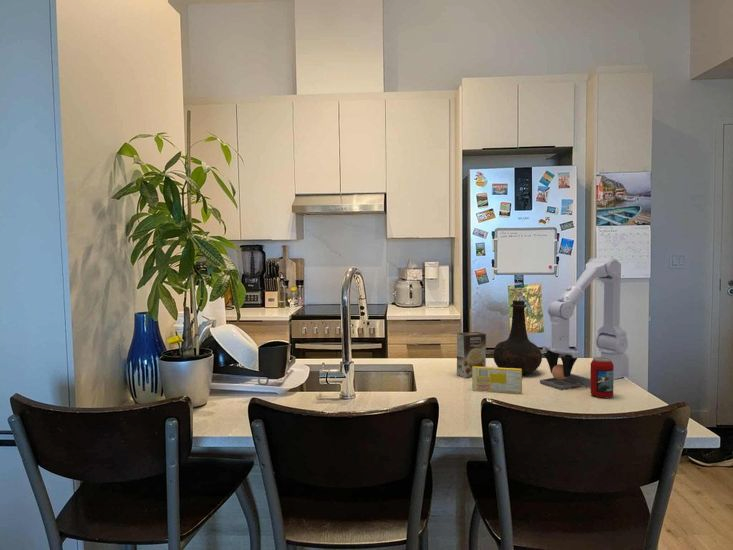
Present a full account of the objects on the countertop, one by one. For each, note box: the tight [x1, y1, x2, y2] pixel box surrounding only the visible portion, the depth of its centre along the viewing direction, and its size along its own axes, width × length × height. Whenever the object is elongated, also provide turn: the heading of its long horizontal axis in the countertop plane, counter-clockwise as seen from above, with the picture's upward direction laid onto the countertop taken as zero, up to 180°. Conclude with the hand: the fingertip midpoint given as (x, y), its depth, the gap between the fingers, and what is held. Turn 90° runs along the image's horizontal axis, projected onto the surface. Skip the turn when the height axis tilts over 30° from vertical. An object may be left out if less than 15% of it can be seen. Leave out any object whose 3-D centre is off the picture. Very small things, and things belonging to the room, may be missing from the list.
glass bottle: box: [492, 299, 543, 376], centre depth 199 cm, size 18×18×28 cm
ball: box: [551, 363, 567, 380], centre depth 181 cm, size 6×6×6 cm
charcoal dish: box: [539, 377, 582, 391], centre depth 181 cm, size 9×10×1 cm
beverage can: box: [589, 356, 615, 399], centre depth 167 cm, size 7×7×12 cm
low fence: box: [566, 373, 590, 389], centre depth 184 cm, size 1×16×3 cm, turn 26°
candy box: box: [471, 366, 523, 395], centre depth 174 cm, size 16×2×8 cm, turn 71°
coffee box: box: [456, 331, 487, 379], centre depth 196 cm, size 9×6×16 cm
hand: (560, 374), depth 181 cm, fingers closed on ball, 5 cm apart
